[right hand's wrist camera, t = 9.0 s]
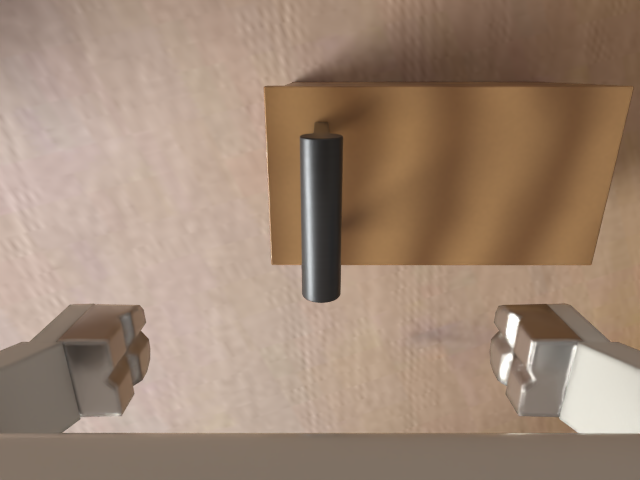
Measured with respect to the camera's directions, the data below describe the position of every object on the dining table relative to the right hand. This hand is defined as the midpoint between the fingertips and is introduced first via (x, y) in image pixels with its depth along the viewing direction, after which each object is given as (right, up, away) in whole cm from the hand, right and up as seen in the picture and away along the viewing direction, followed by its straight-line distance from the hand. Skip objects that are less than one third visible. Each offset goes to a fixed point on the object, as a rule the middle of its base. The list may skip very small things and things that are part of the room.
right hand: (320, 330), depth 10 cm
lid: (+6, +6, +14) cm, 17 cm away
